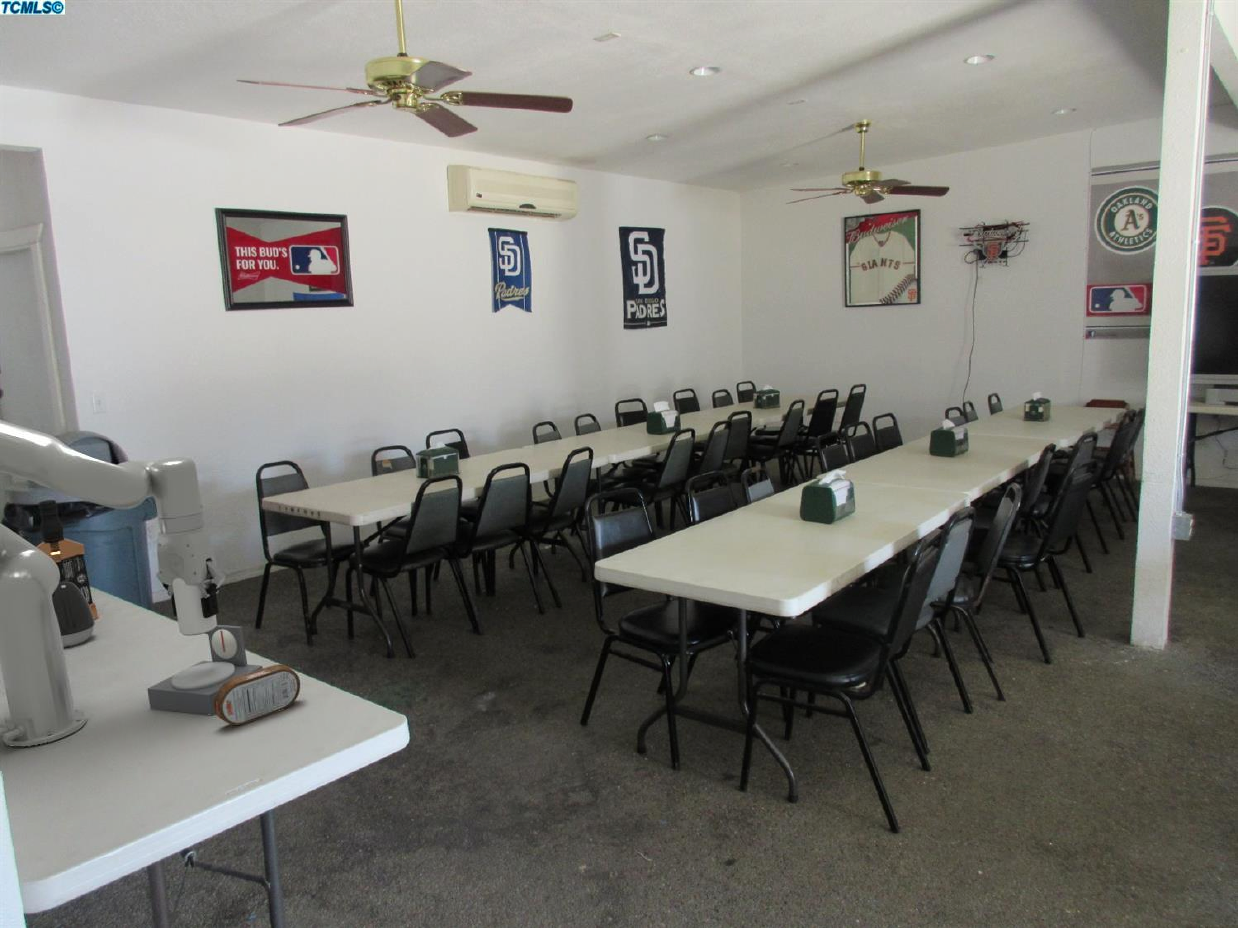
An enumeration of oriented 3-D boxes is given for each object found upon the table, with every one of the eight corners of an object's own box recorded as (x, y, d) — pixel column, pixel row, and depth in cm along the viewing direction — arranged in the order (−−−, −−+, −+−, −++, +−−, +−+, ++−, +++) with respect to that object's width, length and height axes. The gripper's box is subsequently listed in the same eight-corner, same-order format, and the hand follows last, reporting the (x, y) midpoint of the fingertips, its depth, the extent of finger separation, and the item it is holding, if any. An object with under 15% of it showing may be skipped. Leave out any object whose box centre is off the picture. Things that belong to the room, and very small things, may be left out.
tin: (298, 699, 163) (292, 657, 161) (305, 703, 161) (299, 661, 159) (216, 728, 152) (209, 684, 151) (222, 734, 150) (215, 688, 149)
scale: (212, 715, 158) (203, 653, 156) (150, 708, 163) (140, 648, 161) (264, 684, 171) (256, 627, 169) (205, 679, 176) (197, 623, 174)
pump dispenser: (37, 648, 202) (25, 586, 199) (82, 633, 211) (71, 573, 208) (61, 653, 197) (49, 590, 194) (106, 638, 206) (95, 577, 203)
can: (207, 622, 169) (198, 563, 167) (223, 627, 165) (214, 567, 163) (174, 632, 164) (164, 572, 162) (189, 638, 160) (179, 576, 158)
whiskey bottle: (101, 617, 222) (80, 496, 217) (69, 631, 213) (46, 505, 208) (68, 616, 225) (46, 497, 220) (35, 630, 215) (11, 505, 210)
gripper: (130, 528, 161) (145, 619, 163) (202, 529, 155) (217, 624, 158) (163, 518, 167) (177, 606, 170) (233, 519, 162) (247, 610, 165)
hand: (196, 614), depth 164 cm, fingers closed on can, 6 cm apart
